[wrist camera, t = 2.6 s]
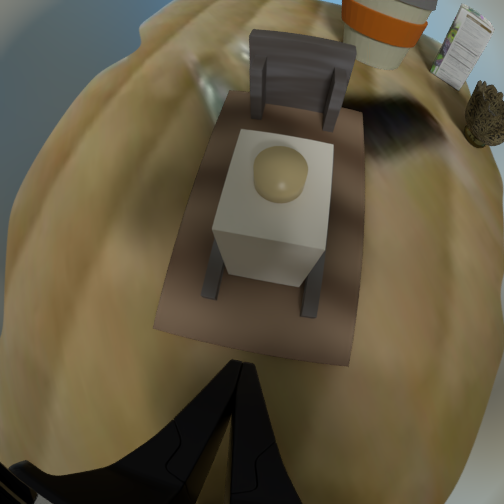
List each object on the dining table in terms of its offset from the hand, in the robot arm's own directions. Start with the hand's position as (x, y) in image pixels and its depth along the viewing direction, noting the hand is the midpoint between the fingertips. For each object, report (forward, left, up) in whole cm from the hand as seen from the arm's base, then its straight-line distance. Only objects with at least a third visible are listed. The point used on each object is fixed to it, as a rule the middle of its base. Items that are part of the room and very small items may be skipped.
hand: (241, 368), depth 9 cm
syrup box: (+43, -24, -11) cm, 51 cm away
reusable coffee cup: (+41, -10, -11) cm, 44 cm away
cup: (+28, -24, -11) cm, 39 cm away
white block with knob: (+8, 0, -9) cm, 12 cm away
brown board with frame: (+12, 0, -10) cm, 16 cm away
